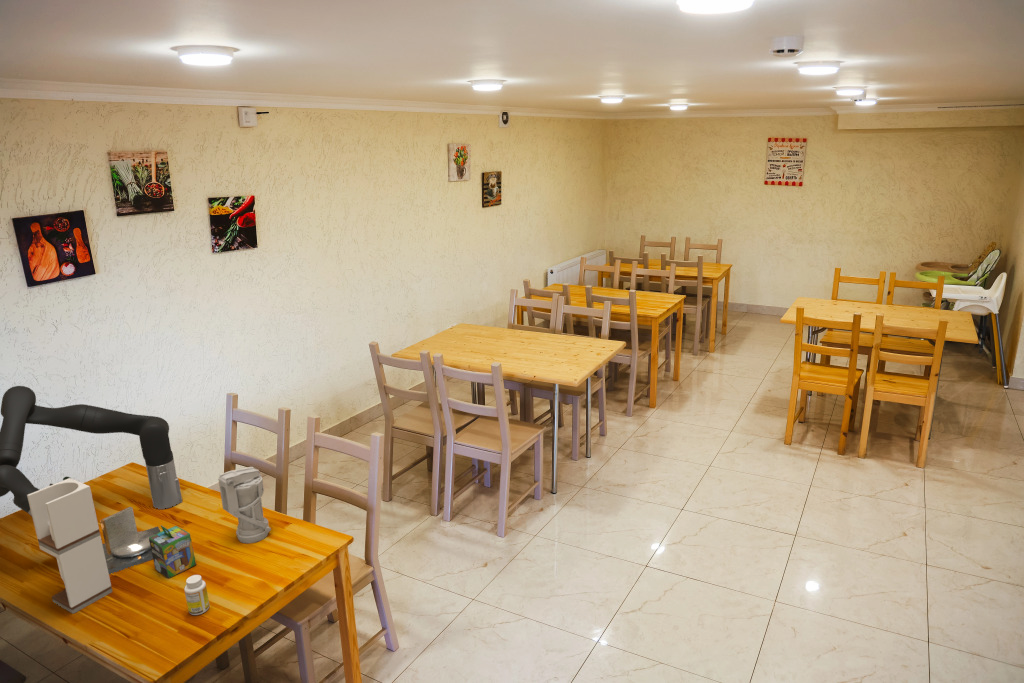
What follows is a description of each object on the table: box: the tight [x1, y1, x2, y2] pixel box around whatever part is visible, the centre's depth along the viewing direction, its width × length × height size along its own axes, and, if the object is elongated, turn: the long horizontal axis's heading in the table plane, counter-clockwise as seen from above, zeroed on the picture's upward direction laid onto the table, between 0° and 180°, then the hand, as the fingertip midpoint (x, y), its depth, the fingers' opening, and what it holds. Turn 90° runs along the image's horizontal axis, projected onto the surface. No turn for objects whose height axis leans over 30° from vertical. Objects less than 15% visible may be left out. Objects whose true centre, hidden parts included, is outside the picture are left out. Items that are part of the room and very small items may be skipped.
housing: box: [102, 526, 162, 575], centre depth 225 cm, size 18×18×2 cm
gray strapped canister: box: [218, 466, 272, 544], centre depth 228 cm, size 13×10×25 cm
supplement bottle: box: [183, 574, 210, 616], centre depth 194 cm, size 6×6×10 cm
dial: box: [99, 506, 155, 558], centre depth 222 cm, size 15×13×14 cm
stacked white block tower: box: [27, 477, 113, 614], centre depth 198 cm, size 11×11×35 cm
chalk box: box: [149, 524, 197, 580], centre depth 214 cm, size 9×9×15 cm
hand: (99, 543), depth 218 cm, fingers closed
